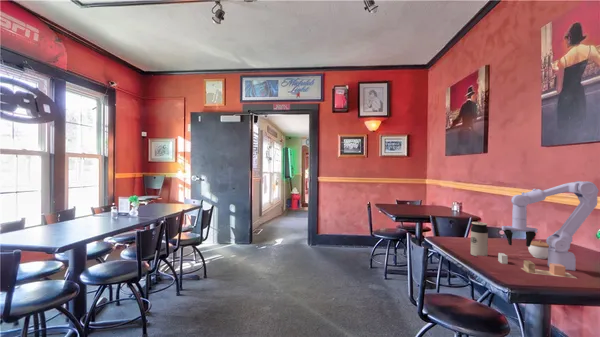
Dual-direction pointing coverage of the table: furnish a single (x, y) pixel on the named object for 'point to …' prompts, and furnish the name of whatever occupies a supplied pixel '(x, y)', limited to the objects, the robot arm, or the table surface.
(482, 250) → the travel mug
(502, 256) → the white block
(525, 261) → the birch strip
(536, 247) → the lidded jar
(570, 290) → the table surface
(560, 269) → the terracotta cube
